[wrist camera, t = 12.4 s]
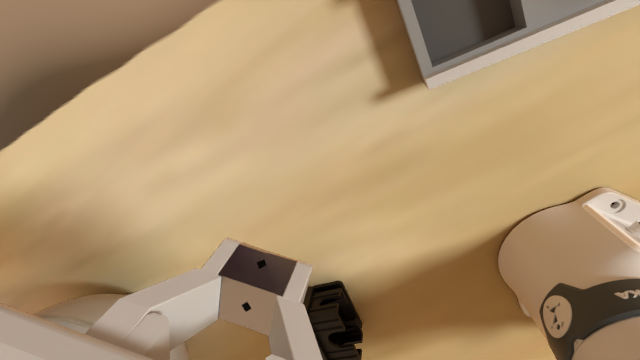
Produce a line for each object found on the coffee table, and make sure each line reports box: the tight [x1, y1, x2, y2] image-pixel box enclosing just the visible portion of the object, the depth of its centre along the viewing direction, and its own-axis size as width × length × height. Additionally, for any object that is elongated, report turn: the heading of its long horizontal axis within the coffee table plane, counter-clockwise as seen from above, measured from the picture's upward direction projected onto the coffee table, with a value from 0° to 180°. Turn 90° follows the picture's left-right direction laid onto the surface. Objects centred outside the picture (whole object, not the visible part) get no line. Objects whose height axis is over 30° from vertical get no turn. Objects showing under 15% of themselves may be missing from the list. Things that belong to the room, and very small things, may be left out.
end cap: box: [303, 281, 363, 360], centre depth 47 cm, size 10×7×7 cm
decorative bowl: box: [34, 294, 189, 360], centre depth 52 cm, size 27×27×12 cm
